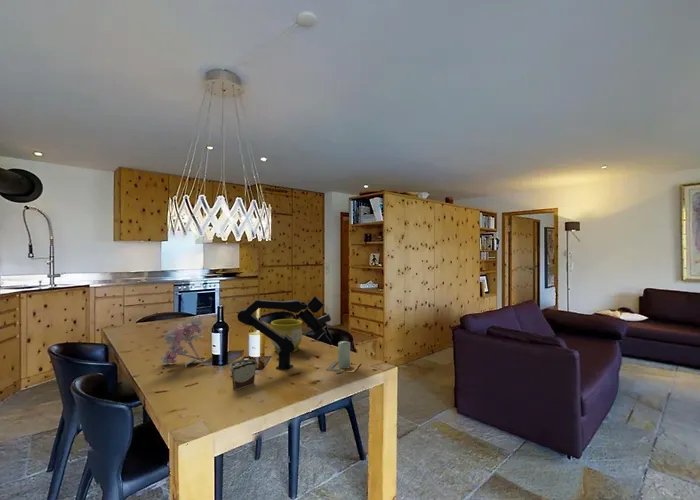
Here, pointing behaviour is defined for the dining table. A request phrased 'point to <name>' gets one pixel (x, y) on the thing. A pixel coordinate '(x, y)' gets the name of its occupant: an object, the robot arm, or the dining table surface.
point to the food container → (243, 373)
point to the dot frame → (333, 366)
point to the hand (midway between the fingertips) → (332, 342)
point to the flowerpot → (288, 331)
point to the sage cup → (343, 354)
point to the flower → (178, 336)
